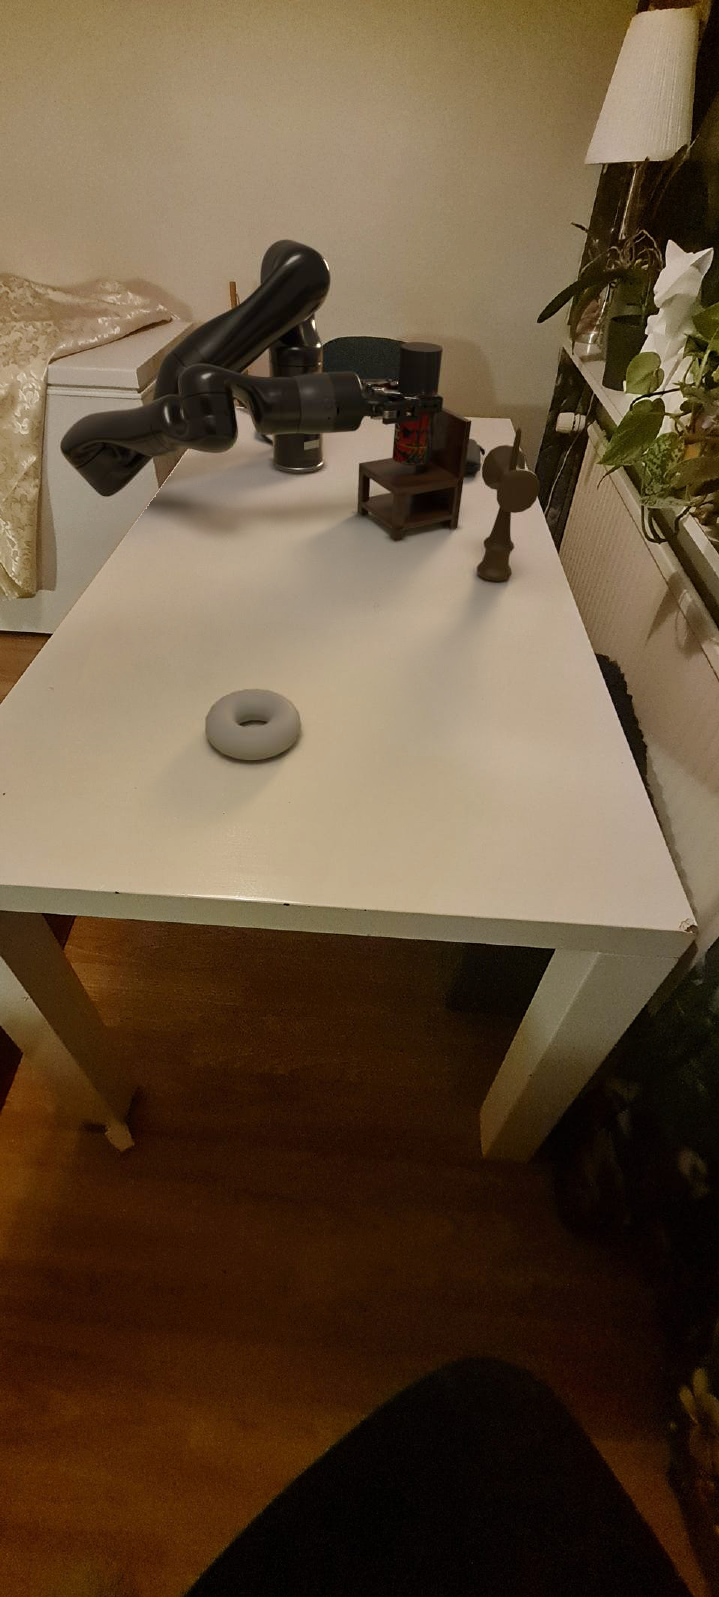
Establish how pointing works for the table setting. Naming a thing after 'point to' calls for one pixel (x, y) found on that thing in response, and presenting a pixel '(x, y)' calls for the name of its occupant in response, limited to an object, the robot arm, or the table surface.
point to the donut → (252, 739)
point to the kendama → (505, 504)
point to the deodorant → (421, 380)
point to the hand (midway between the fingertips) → (431, 397)
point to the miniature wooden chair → (420, 481)
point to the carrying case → (473, 458)
